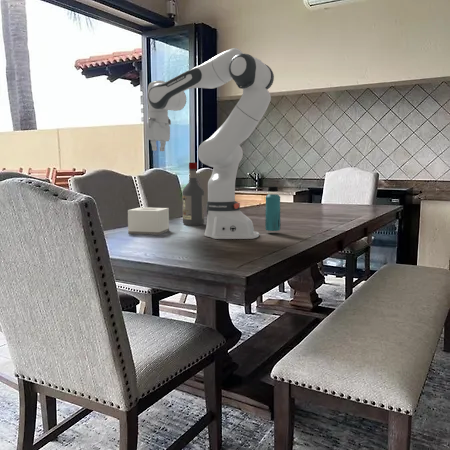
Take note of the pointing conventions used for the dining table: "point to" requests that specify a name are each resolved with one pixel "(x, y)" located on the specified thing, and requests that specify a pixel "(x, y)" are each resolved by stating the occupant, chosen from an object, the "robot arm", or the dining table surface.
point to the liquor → (193, 200)
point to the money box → (148, 221)
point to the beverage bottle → (273, 210)
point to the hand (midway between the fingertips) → (158, 150)
